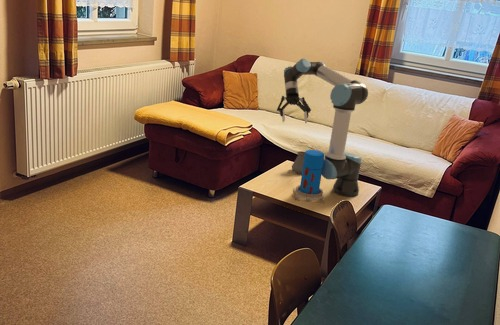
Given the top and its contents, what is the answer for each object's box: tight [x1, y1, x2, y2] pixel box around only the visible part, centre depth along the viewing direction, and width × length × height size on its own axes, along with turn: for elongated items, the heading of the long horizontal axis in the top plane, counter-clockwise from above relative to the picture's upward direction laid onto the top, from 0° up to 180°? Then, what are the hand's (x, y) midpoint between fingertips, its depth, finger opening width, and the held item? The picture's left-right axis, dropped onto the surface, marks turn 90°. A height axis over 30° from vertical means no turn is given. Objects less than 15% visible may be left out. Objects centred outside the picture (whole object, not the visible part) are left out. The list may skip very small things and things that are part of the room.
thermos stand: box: [293, 184, 325, 204], centre depth 275 cm, size 16×16×4 cm
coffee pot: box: [291, 151, 305, 175], centre depth 307 cm, size 21×12×15 cm, turn 4°
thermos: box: [299, 149, 325, 194], centre depth 271 cm, size 11×11×25 cm
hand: (295, 121), depth 282 cm, fingers open, 13 cm apart
